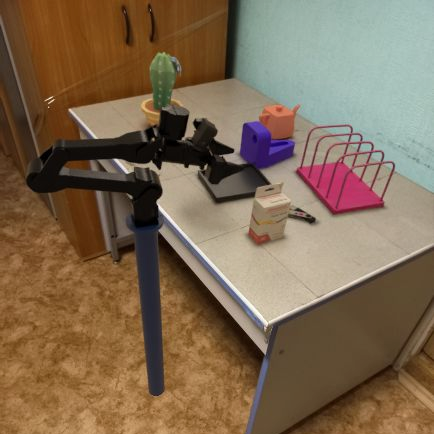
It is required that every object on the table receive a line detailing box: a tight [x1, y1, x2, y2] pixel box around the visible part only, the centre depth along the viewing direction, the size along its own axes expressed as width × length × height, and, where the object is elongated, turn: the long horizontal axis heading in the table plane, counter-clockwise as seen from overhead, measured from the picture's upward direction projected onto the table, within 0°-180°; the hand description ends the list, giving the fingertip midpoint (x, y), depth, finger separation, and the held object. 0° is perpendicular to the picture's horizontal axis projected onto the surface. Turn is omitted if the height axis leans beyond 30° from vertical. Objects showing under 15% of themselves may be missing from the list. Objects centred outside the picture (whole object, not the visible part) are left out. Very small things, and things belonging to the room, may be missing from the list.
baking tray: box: [197, 162, 274, 204], centre depth 131 cm, size 19×16×2 cm
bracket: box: [239, 120, 296, 170], centre depth 141 cm, size 18×11×12 cm, turn 115°
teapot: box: [258, 104, 302, 140], centre depth 155 cm, size 12×18×10 cm, turn 118°
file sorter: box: [295, 123, 396, 215], centre depth 128 cm, size 17×25×16 cm
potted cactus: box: [140, 51, 184, 127], centre depth 147 cm, size 15×15×25 cm
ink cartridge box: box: [247, 182, 292, 245], centre depth 109 cm, size 9×5×15 cm, turn 117°
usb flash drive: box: [288, 204, 317, 224], centre depth 121 cm, size 9×5×1 cm, turn 43°
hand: (238, 159), depth 110 cm, fingers open, 9 cm apart
